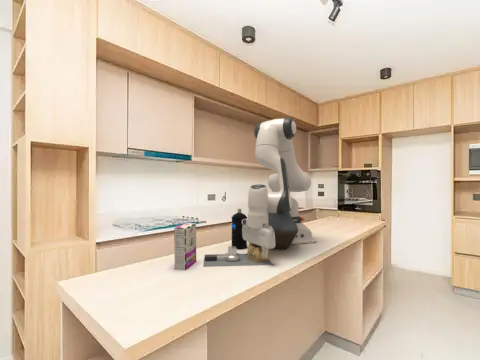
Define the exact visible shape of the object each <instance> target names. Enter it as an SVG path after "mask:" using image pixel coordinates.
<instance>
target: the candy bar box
mask: <svg viewBox="0 0 480 360" xmlns="http://www.w3.org/2000/svg"><path fill="white" fill-rule="evenodd" d="M173 231H174V234H173V235H174V241H173V243H174V270H178V271H187V270H188V269H189V268H191V267H192V266H193V265H195V264H196V262H197V222H195V223H193V222H185V223H183V224H181V225H179V226H175V227H174V229H173Z"/></svg>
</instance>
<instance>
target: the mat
mask: <svg viewBox="0 0 480 360" xmlns="http://www.w3.org/2000/svg"><path fill="white" fill-rule="evenodd" d="M224 254H225V253H221V254H220V253H218V254H216V253H215V254H213V253H212V254H207V255H217V256H223V255H224ZM239 254H240V261H237V262H227V261H205V255H204V256H203V264H202V268H209V267H210V268H213V267H214V268H215V267H243V266H244V267H246V266H247V267H248V266H253V267H254V266H274V264H273V262H272V261H271V259H270V258H269V257H268V260H267V261H262V262H257V263H256V262H254V261H252V260H249V259H248V253H239Z"/></svg>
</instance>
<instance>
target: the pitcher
mask: <svg viewBox="0 0 480 360" xmlns="http://www.w3.org/2000/svg"><path fill="white" fill-rule="evenodd" d="M268 225H270V226H272V228H273V230H274V233H275V244H276V245H275V247H274V248H272V249H271V250H281V251H282V250H287V249H289V248H290V246H291V245H292V244H291V243H292V241H293V239H294V238H295V236H296V234H297V232H298V227H297V225H296V224H295V222H294V221H293V219H292V217H291V215H290V212H288V213H287V214H285V215H283V214H277V213H268Z"/></svg>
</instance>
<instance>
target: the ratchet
mask: <svg viewBox="0 0 480 360" xmlns="http://www.w3.org/2000/svg"><path fill="white" fill-rule="evenodd" d="M223 254H224V255H223V256H217V255H208V254H204V256H205V261H227V262H237V261H240V254H241V253H239V252H237V250H236V246H232V245H228V246H227V252H225V253H223Z"/></svg>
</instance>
